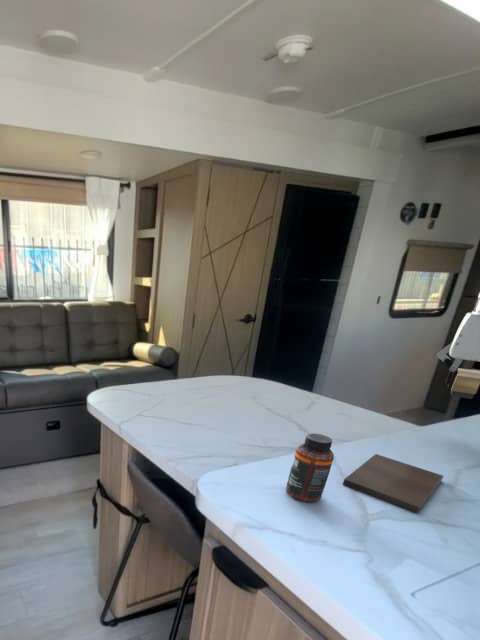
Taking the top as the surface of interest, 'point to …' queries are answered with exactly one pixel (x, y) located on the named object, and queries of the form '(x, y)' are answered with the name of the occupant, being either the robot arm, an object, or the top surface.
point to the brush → (465, 383)
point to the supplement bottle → (310, 468)
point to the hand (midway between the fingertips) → (462, 388)
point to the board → (394, 482)
